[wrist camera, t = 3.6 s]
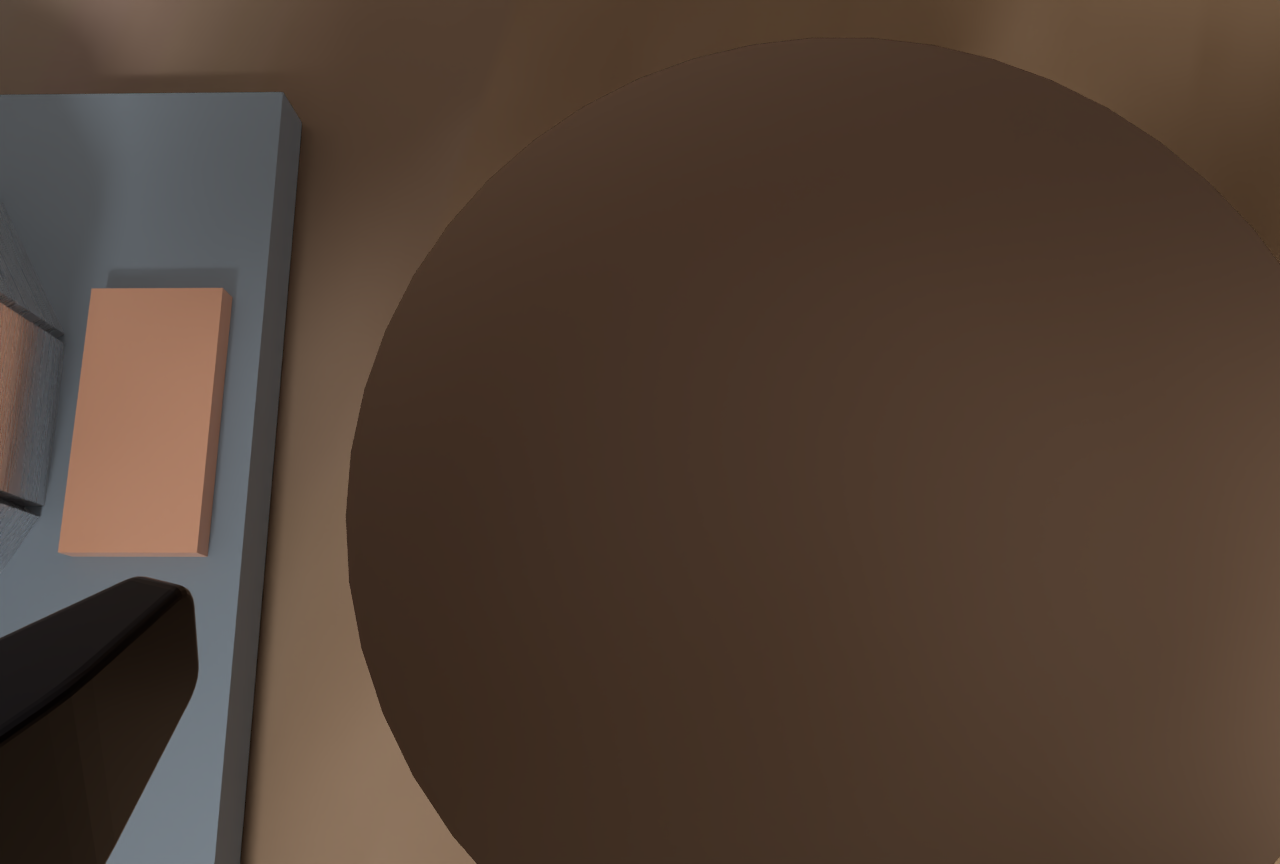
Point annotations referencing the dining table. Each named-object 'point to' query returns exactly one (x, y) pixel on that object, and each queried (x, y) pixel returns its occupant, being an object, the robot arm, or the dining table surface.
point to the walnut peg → (833, 482)
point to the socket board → (148, 396)
